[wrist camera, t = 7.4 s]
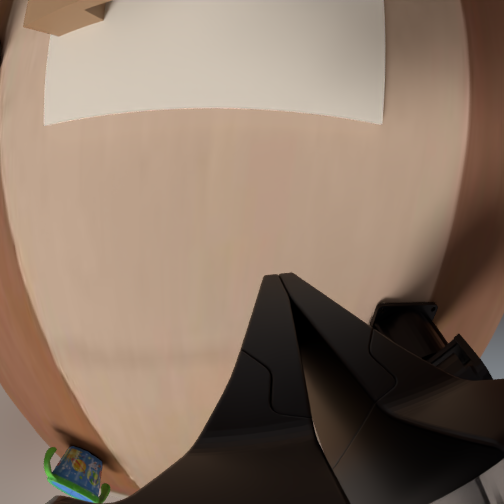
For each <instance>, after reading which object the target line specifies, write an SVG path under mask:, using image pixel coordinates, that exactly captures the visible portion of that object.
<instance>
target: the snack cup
mask: <svg viewBox="0 0 504 504" xmlns="http://www.w3.org/2000/svg"><path fill="white" fill-rule="evenodd" d="M56 450H57V449H56V448H55V447H51V448H49V449H48V450H47V452H46V454H45V458H44V469H45V472H46V474H47V476H48V478H47V480H48V481H49V483H51V484H52V485H53V486H55V487H56V488H57V489H59V490H61V491H62V492H64V493H66V494H68V495H70V496H72V497H74V498H76V499H79V500H84V501H88V502H92V503H103V502H104V501H105V499H106V498H107V496H108V494H109V492H110V486H109V485H108V484H106V483H104V484H102V486H101V495H100V496H99V497H98V494H99V487H100V479H101V471H102V461H101V460H99V459H98V458H97V457H95V456H93V455H91V454H90V453H89V452H88V451H85V450H83V449H81V448H78V447H74V446H71V447H69V448H68V449H67V451H66V452H65V454H64V455H63V457H62V458H61V460H60V462H59V463H58V464H57V466H56V468H55V469H54V471H53V472H51V466H50V459H51V457H52V456H53V454H54V453H55V451H56Z"/></svg>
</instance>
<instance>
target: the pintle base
mask: <svg viewBox="0 0 504 504" xmlns="http://www.w3.org/2000/svg"><path fill="white" fill-rule="evenodd" d="M23 27H25V28H29V29H33V30H37V31H41V32H44V33H48V34H51V35H50V42H49V49H48V57H47V66H46V78H45V94H44V126H46V125H53V124H58V123H63V122H68V121H74V120H79V119H85V118H92V117H98V116H106V115H113V114H122V113H131V112H142V111H155V110H171V109H205V108H221V109H255V110H272V111H285V112H296V113H306V114H315V115H323V116H330V117H337V118H344V119H350V120H356V121H362V122H367V123H373V124H381V125H382V120H383V106H384V88H385V14H384V0H28V4H27V9H26V14H25V19H24V25H23Z"/></svg>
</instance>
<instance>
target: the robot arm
mask: <svg viewBox="0 0 504 504" xmlns="http://www.w3.org/2000/svg"><path fill="white" fill-rule="evenodd" d="M437 308H438V307H437V305H436V304H435V303H434V302H428V303H382V304H379V305H378V306H377V307H376V309H375V312H374V315H373V319H372V322H371V325H370V326H369V325H368V324H366V323H365V322H363V321H362V320H360V319H359V318H358V317H356V316H355V315H353V314H352V313H350V312H349V311H347V310H346V309H345V308H343V307H342V306H340V305H339V304H337V303H336V302H334V301H333V300H332V299H330V298H329V297H327V296H326V295H324V294H323V293H321V292H320V291H318V290H317V289H316V288H314V287H313V286H311V285H310V284H308V283H307V282H305V281H304V280H302V279H301V278H300V277H298V276H297V275H295V274H294V273H283V274H279V276H278V275H277V274H273V275H265V276H264V277H263V280H262V283H261V286H260V290H259V293H258V296H257V299H256V303H255V306H254V309H253V312H252V315H251V318H250V322H249V325H248V328H247V331H246V334H245V337H244V340H243V344H242V347H241V350H240V352H239V355H238V358H237V362H236V364H235V367H234V370H233V372H232V375H231V377H230V380H229V382H228V384H227V386H226V388H225V390H224V392H223V394H222V396H221V398H220V400H219V402H218V403H217V405H216V407H215V409H214V411H213V413H212V414H211V416H210V418H209V420H208V422H207V423H206V425H205V427H204V429H203V431H202V432H201V434H200V436H199V437H198V439H197V440H196V442H195V443H194V445H193V446H192V447H191V449H190V450H189V451H188V452H187V453H186V454H185V455H184V456H183V457H182V458H180V459H179V460H178V461H177V462H175V463H174V464H173V465H172V466H170V467H169V468H168V469H166V470H165V471H164V472H163V473H161V474H160V475H159V476H157V477H156V478H155V479H153V480H152V481H151V482H149V483H148V484H147V485H145V486H144V487H142V488H141V489H140V490H138V491H137V492H135V493H134V494H133V495H131V496H129V497H127V498H125V499H123V500H120V501H117V502H114V503H104V504H504V379H497V380H496V379H495V380H493V378H492V377H491V375H490V373H489V371H488V370H487V368H486V366H485V365H484V364H483V362H482V361H481V359H480V358H479V357H478V355H477V354H476V353H475V352H474V351H473V349H472V348H471V347H470V346H469V345H468V343H467V342H466V341H465V340H464V339H463V338H462V336H461V335H460V334H458V335H457V336H455V337H454V339H453V340H452V341H451V342H450V343H447V341H446V340H445V338H444V337H443V335H442V334H441V332H440V331H439V329H438V328H437V327H436V325H435V324H434V322H433V318H434V316H435V314H436V311H437ZM381 309H383V310H381ZM380 310H381V311H380ZM312 419H313V420H312ZM313 422H314V425H315V428H316V431H317V434H318V436H319V439H320V442H321V445H322V448H323V450H322V448H321V446H320V445H319V442H318V440H317V437H316V434H315V430H314V425H313ZM323 451H324V452H323ZM46 504H102V503H92V502H88V501H84V500H79V499H75V498H71V497H66V496H55V497H53V498H52V499H51V500H49V502H47V503H46Z"/></svg>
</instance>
